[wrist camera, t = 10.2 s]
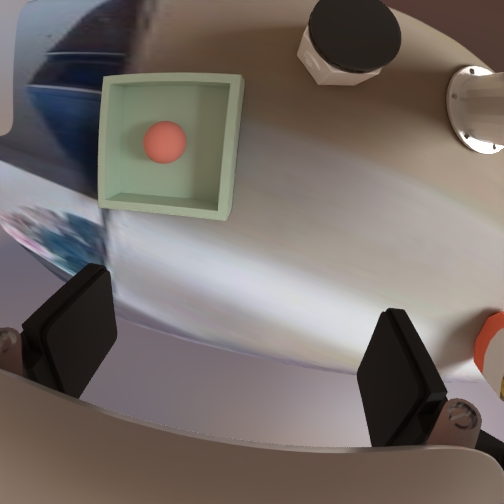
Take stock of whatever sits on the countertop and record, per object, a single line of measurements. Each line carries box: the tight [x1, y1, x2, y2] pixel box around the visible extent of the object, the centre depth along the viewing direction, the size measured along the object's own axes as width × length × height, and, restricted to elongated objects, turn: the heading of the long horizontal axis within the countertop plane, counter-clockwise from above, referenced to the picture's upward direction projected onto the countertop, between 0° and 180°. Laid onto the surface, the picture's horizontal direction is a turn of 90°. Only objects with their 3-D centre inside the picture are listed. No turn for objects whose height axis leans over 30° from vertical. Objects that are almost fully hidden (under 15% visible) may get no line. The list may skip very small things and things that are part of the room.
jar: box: [297, 0, 401, 86], centre depth 26 cm, size 9×8×12 cm
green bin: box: [98, 73, 245, 221], centre depth 34 cm, size 16×16×5 cm
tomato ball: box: [143, 121, 187, 164], centre depth 33 cm, size 5×5×5 cm
